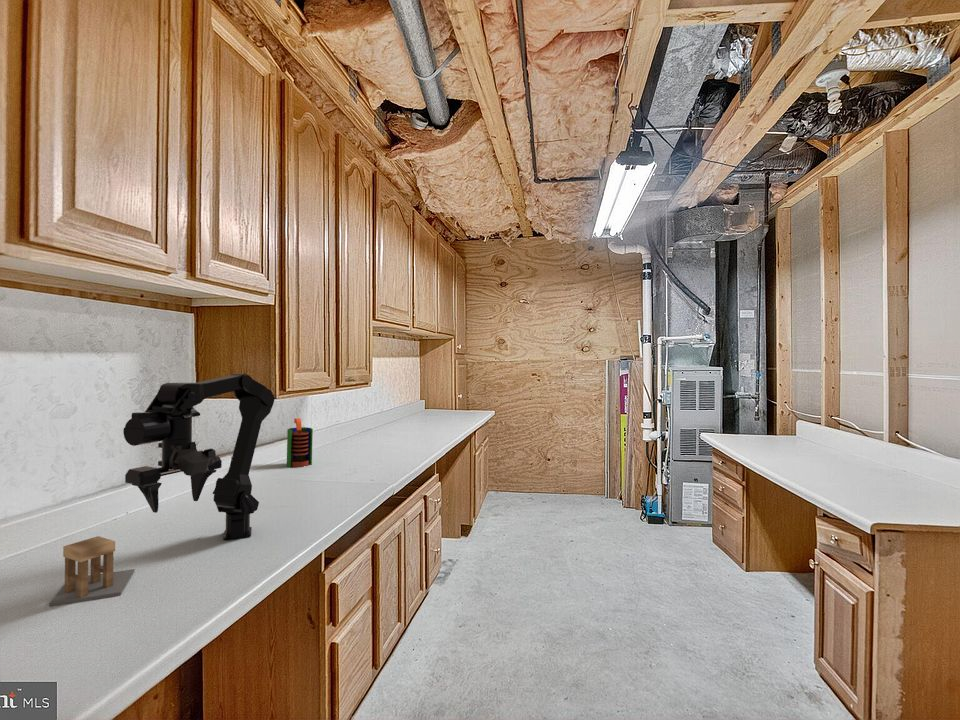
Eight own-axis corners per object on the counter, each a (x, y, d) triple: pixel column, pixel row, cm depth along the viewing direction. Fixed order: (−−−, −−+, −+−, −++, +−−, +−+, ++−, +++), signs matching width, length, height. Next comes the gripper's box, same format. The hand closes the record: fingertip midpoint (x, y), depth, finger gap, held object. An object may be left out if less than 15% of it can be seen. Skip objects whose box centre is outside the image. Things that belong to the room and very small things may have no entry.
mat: (70, 580, 100) (70, 577, 100) (134, 571, 104) (134, 569, 104) (49, 606, 90) (49, 603, 90) (120, 595, 94) (120, 592, 94)
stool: (97, 579, 99) (98, 536, 99) (114, 585, 97) (115, 541, 97) (62, 591, 94) (63, 546, 94) (80, 598, 92) (80, 552, 91)
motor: (293, 468, 199) (294, 421, 199) (281, 465, 204) (282, 419, 204) (314, 464, 207) (315, 418, 207) (303, 461, 213) (303, 416, 212)
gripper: (156, 448, 97) (156, 525, 97) (237, 435, 114) (236, 500, 114) (124, 443, 101) (123, 516, 101) (206, 431, 118) (205, 494, 118)
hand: (176, 506), depth 109 cm, fingers open, 9 cm apart
